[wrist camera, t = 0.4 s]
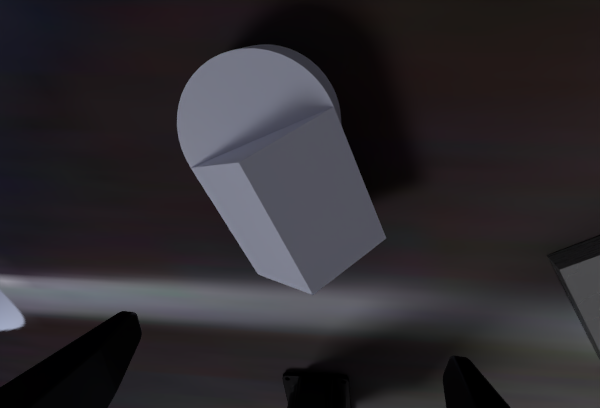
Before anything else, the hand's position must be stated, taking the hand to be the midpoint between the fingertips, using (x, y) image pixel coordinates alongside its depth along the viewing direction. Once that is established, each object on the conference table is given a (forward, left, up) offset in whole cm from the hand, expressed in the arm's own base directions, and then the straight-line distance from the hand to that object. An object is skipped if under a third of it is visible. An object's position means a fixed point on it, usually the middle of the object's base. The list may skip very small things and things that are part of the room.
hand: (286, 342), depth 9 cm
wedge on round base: (+1, +2, -14) cm, 14 cm away
